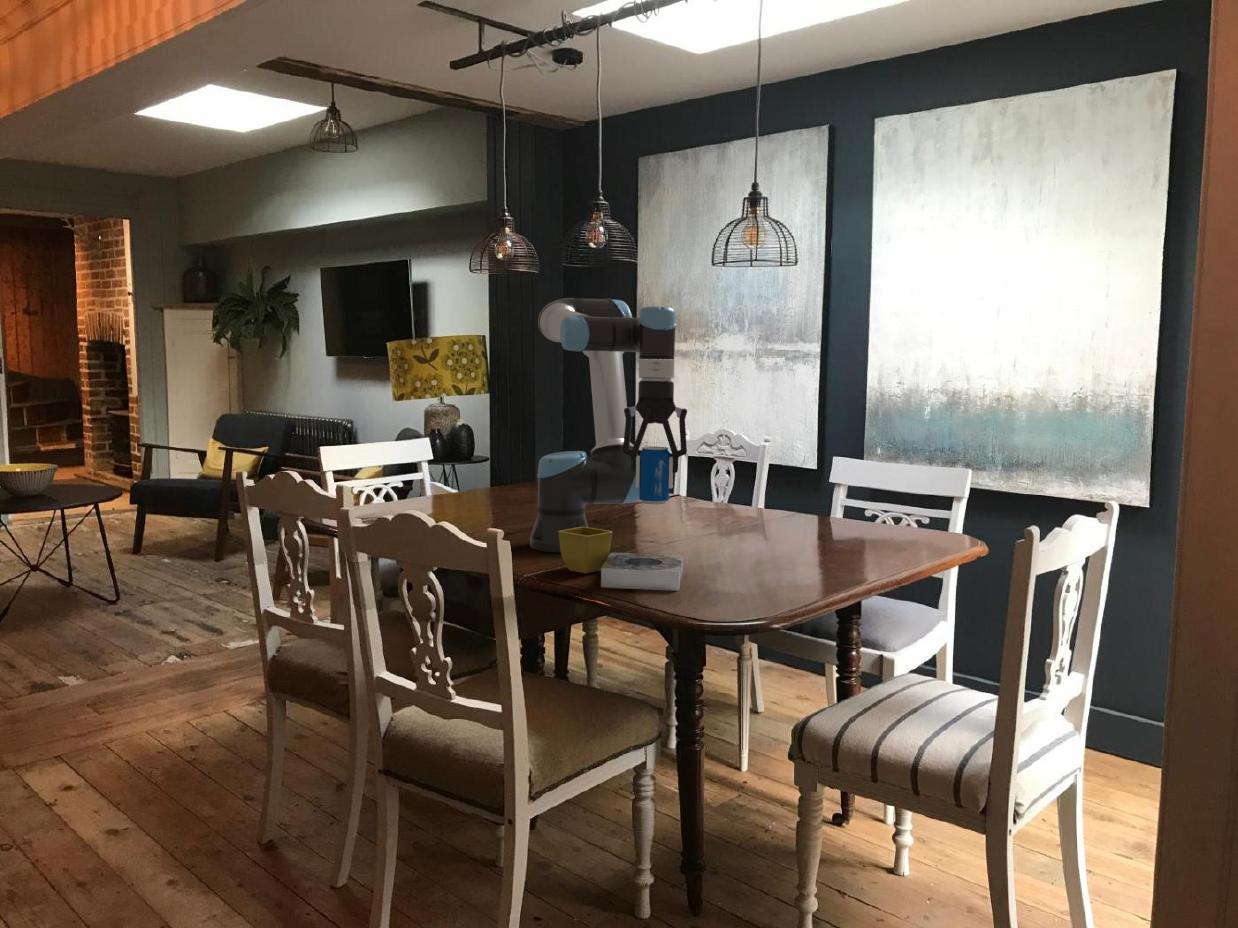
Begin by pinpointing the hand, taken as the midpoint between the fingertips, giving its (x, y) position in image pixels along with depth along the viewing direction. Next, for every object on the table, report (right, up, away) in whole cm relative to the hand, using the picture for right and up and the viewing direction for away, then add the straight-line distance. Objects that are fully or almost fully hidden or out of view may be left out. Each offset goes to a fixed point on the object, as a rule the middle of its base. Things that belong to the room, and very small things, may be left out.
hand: (654, 487), depth 215 cm
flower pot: (-15, -19, +5) cm, 25 cm away
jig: (-2, -20, -3) cm, 20 cm away
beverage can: (0, -4, 0) cm, 4 cm away
